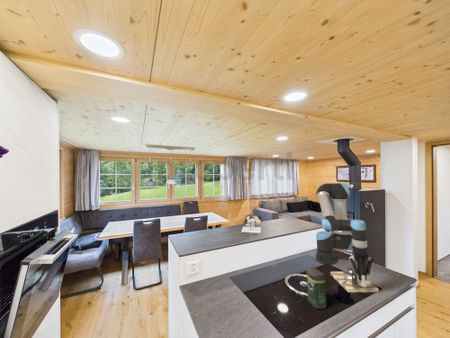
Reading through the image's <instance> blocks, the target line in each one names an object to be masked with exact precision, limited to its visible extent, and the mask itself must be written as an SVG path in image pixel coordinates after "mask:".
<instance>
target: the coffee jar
mask: <svg viewBox="0 0 450 338" xmlns="http://www.w3.org/2000/svg"><path fill="white" fill-rule="evenodd" d="M305 273H306V275H305V276H306V279H307V301H308V302H309V304H310V305H312V307H313V308H315V309H319V310H324V309H326V308H327V306H328V305H327V297H326V290H325V287H326V286H325V283H326V279H325V278H326V276H325V274H324V273H323V272H322V271H321V270H319V269H317V268H315V267H312V266H311V267H307V268H306V272H305Z"/></svg>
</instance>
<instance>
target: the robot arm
mask: <svg viewBox="0 0 450 338" xmlns="http://www.w3.org/2000/svg"><path fill="white" fill-rule="evenodd" d="M315 194H316V195H315V196H316V199H318V201H319V202H318V203H319V206H320V210H321V214H322V218H321V227H322V230H323V231H322V230H321V231H318V232H316V236H315V240H316V253H315V255H314V257H315V258H316V259H315V258H314V259H315V261H317V262H318V263H320V264H324V265H335V264H337V260H336V257H335V255H334V252H333V251H334V250H343V251H352V252H353V253H351V254H352V255H351V256H348V260H349V261H350V263H351V266H352V268H353V269H354V272H355V273H356V274H358V279H359V280H360V284H361V285H362V286H363V287H366V286H365V281H366V279H367V276H368V275H370V274H371V269H372V264H373V261H374V258H372V257H371V256H369V249H368V239H367V237H368V236H367V226H366V225H367V224H366V222H365V221H364V220H361V219H353V218H348V209H347V201H348V199H349V198H350V197H351V191H350V187H349V186H348V184H347V183H345V182H344V183H343V182H342V183H341V182H337V183H336V182H334V183H332V182H331V183H330V182H329V183H327V182H326V183H323V184H321V185H319V187H318V188H317V190H316V192H315ZM330 198H331V199H330ZM331 201H333V205H332V203H331ZM333 207H334V209H333ZM331 231H333V233H332V232H331Z"/></svg>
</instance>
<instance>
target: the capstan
mask: <svg viewBox="0 0 450 338" xmlns="http://www.w3.org/2000/svg"><path fill="white" fill-rule="evenodd" d="M342 272H343V277H344V279H345V280H347V281H349V282H351V283H352V286H353V288H355V289H358V284H357V283H360V280H359V279H358V274H356V273H355V272H354V269H353V267H348V268H346V270H344V271H342Z"/></svg>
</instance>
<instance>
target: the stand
mask: <svg viewBox="0 0 450 338" xmlns="http://www.w3.org/2000/svg"><path fill="white" fill-rule="evenodd" d="M343 272H344V271H330V276H331V277H333V279H334V280H335V281H336V282H337V283H339V285H340V286H341V287H342V288H343V289H344V290H345V291H347V293H379V292H380V291H379V288H378V287H377V286H375V285H374V284H373V283H372V282H371V281H369V280H368V279H367V278H366V281H365V286H366V287H363V286H362V285H361V284H360V283H357V284H358V289H355V288H353V286H352V283H351V282H349V281H347V280H345V279H344V277H343Z"/></svg>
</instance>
